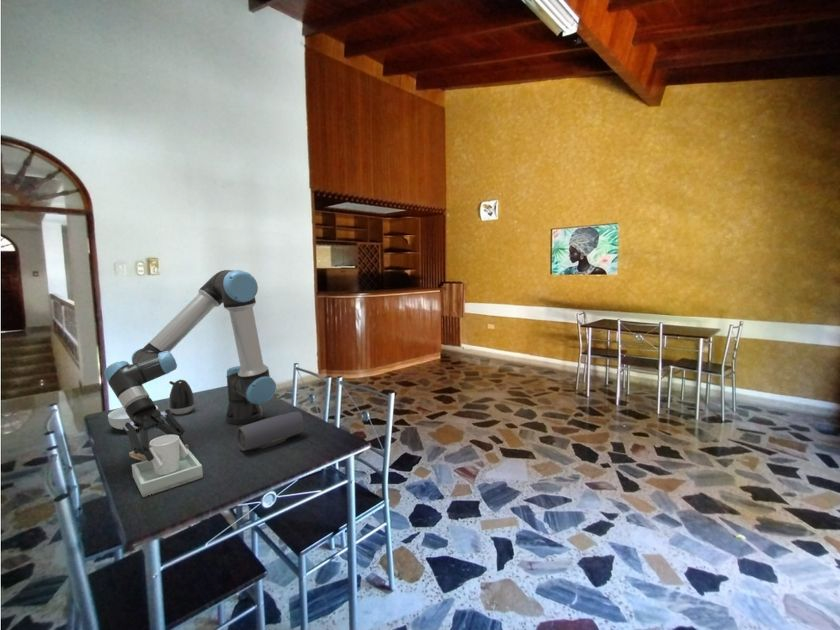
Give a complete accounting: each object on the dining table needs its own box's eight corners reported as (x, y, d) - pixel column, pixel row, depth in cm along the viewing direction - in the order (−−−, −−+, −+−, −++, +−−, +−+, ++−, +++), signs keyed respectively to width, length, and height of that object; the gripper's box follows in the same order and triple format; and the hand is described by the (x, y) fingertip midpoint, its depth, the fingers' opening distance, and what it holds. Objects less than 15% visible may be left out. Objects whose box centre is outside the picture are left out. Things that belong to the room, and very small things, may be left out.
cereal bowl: (103, 438, 158) (101, 420, 157) (115, 422, 173) (114, 406, 172) (155, 431, 165) (153, 414, 164) (162, 416, 180) (161, 401, 179)
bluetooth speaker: (294, 431, 165) (293, 407, 164) (305, 438, 158) (305, 413, 157) (236, 449, 149) (234, 423, 148) (247, 458, 142) (245, 430, 141)
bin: (188, 459, 141) (187, 448, 140) (202, 477, 129) (202, 465, 129) (132, 476, 130) (131, 464, 129) (142, 497, 118) (141, 484, 118)
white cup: (185, 469, 130) (182, 439, 128) (156, 479, 124) (153, 447, 123) (176, 461, 135) (174, 432, 134) (149, 470, 129) (146, 440, 128)
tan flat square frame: (166, 442, 155) (165, 438, 155) (188, 448, 149) (188, 444, 149) (129, 456, 143) (129, 452, 143) (152, 464, 138) (151, 460, 137)
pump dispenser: (180, 407, 191) (177, 376, 189) (200, 409, 190) (198, 377, 188) (163, 416, 181) (160, 382, 179) (185, 417, 180) (182, 383, 178)
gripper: (164, 400, 143) (198, 453, 138) (97, 421, 125) (134, 483, 120) (173, 387, 140) (208, 441, 135) (105, 407, 122) (143, 470, 117)
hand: (173, 461), depth 127 cm, fingers closed on white cup, 8 cm apart
